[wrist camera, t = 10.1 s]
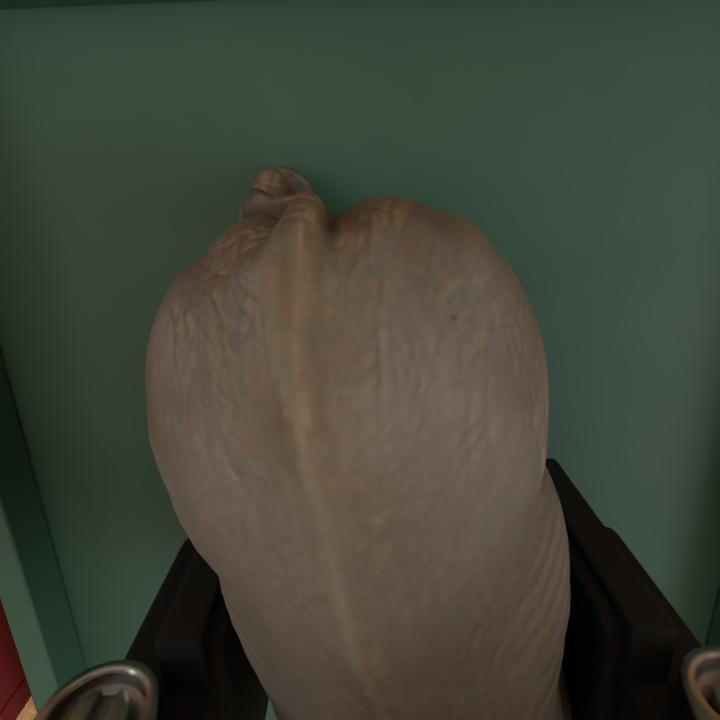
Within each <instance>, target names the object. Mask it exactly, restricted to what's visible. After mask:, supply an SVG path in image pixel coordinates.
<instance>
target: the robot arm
mask: <svg viewBox="0 0 720 720" xmlns="http://www.w3.org/2000/svg"><path fill="white" fill-rule="evenodd" d="M545 466H546V467H547V469H548V472H549V474H550V476H551V478H552V481H553V483H554V486H555V489H556V492H557V494H558V497H559V500H560V503H561V507H562V511H563V515H564V519H565V525H566V530H567V536H568V545H569V559H570V593H571V594H570V613H569V619H568V625H567V630H566V634H565V642H564V654H563V659H562V664H561V665H562V668H563V671H564V675H565V679H566V683H567V687H568V692H569V699H570V706H571V714H572V720H720V646H702V645H701V644H700V643H699V641H698V640H697V639H696V637H695V636H694V635H693V633H692V632H691V631H690V629H689V628H688V627H687V625H686V624H685V623H684V621H683V620H682V619H681V617H680V616H679V615H678V613H677V612H676V611H675V609H674V608H673V607H672V605H671V604H670V603H669V601H668V600H667V599H666V597H665V596H664V595H663V593H662V592H661V591H660V589H659V588H658V587H657V585H656V584H655V583H654V581H653V580H652V579H651V577H650V576H649V575H648V573H647V572H646V571H645V569H644V568H643V567H642V565H641V564H640V563H639V561H638V560H637V559H636V557H635V556H634V555H633V553H632V552H631V551H630V549H629V548H628V547H627V545H626V544H625V543H624V541H623V540H622V539H621V537H620V536H619V535H618V534H617V533H616V532H615V531H614V530H613V529H612V528H609V527H605V526H604V525H603V524H602V522H601V521H600V519H599V518H598V517H597V515H596V514H595V513H594V511H593V510H592V508H591V507H590V506H589V504H588V503H587V502H586V500H585V499H584V498H583V496H582V495H581V493H580V492H579V491H578V489H577V488H576V487H575V485H574V484H573V482H572V481H571V480H570V478H569V477H568V476H567V474H566V473H565V471H564V470H563V469H562V467H561V466H560V465H559V463H558V462H557V461H556V460H555V459H553V458H548V459H546V462H545ZM268 701H269V698H268V696H267V694H266V692H265V690H264V688H263V686H262V685H261V683H260V681H259V678H258V676H257V674H256V673H255V671H254V669H253V667H252V665H251V664H250V662H249V660H248V658H247V656H246V654H245V651H244V649H243V646H242V644H241V641H240V639H239V637H238V635H237V633H236V631H235V629H234V627H233V625H232V622H231V618H230V615H229V612H228V610H227V607H226V604H225V600H224V597H223V594H222V591H221V587H220V580H219V576H218V575H217V574H216V573H215V571H214V570H213V569H212V568H211V567H210V566H209V564H208V563H207V562H206V561H205V560H204V558H203V557H202V556H201V555H200V554H199V553H198V551H197V550H196V549H195V547H194V545H193V543H192V542H191V540H190V538H188V539H187V540H185V541H184V543H183V544H182V546H181V548H180V550H179V552H178V554H177V556H176V558H175V560H174V562H173V564H172V566H171V568H170V570H169V572H168V574H167V576H166V577H165V579H164V581H163V583H162V585H161V587H160V589H159V591H158V593H157V595H156V597H155V599H154V601H153V603H152V605H151V607H150V609H149V611H148V613H147V615H146V617H145V619H144V621H143V623H142V625H141V627H140V629H139V631H138V633H137V635H136V637H135V639H134V641H133V643H132V645H131V647H130V649H129V651H128V653H127V655H126V657H125V659H124V660H114V661H108V662H105V663H102V664H99V665H96V666H93V667H90V668H88V669H87V670H85V671H83V672H81V673H79V674H77V675H76V676H74V677H72V678H71V679H70V680H68V681H67V682H66V683H65V684H63V685H62V686H61V687H60V688H58V689H57V690H56V691H55V692H54V693H53V694H52V695H51V696H50V697H49V699H48V700H47V701H46V702H45V703H44V704H43V706H42V707H41V708H40V709H39V711H38V713H37V715H36V717H35V719H34V720H265V718H266V713H267V707H268Z"/></svg>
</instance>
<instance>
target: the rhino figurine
mask: <svg viewBox="0 0 720 720" xmlns="http://www.w3.org/2000/svg"><path fill="white" fill-rule="evenodd" d="M145 385H146V406H147V423H148V432H149V441H150V444H151V447H152V451H153V454H154V457H155V460H156V464H157V467H158V469H159V472H160V474H161V477H162V479H163V481H164V484H165V486H166V488H167V491H168V493H169V495H170V498H171V501H172V505H173V507H174V510H175V513H176V515H177V518H178V520H179V521H180V523H181V525H182V527H183V528H184V530H185V532H186V533H187V535H188V537H189V538H190V540H191V542H192V543H193V545H194V547H195V549H196V550H197V551H198V553H199V554H200V555H201V556H202V557H203V558H204V560H205V561H206V562H207V563H208V564H209V566H210V567H211V568H212V569H213V570H214V571H215V573H216V574H217V575H218V576H219V580H220V587H221V591H222V594H223V597H224V600H225V604H226V607H227V610H228V612H229V615H230V618H231V622H232V625H233V627H234V629H235V631H236V633H237V635H238V637H239V639H240V641H241V644H242V646H243V649H244V651H245V654H246V656H247V658H248V660H249V662H250V664H251V665H252V667H253V669H254V671H255V673H256V674H257V676H258V678H259V681H260V683H261V685H262V686H263V688H264V690H265V692H266V694H267V696H268V698H269V700H270V702H271V704H272V707H273V709H274V712H275V715H276V717H277V720H572V714H571V706H570V699H569V692H568V687H567V683H566V679H565V675H564V671H563V668H562V665H561V664H562V659H563V654H564V642H565V634H566V630H567V625H568V619H569V613H570V594H571V593H570V559H569V545H568V536H567V530H566V525H565V519H564V515H563V511H562V507H561V503H560V500H559V497H558V494H557V492H556V489H555V486H554V483H553V481H552V478H551V476H550V474H549V472H548V469H547V467H546V466H545V462H546V453H547V436H548V421H549V388H548V373H547V362H546V356H545V351H544V347H543V342H542V337H541V332H540V327H539V325H538V322H537V320H536V317H535V315H534V312H533V310H532V307H531V305H530V302H529V300H528V297H527V295H526V293H525V291H524V289H523V287H522V285H521V283H520V281H519V279H518V278H517V276H516V274H515V273H514V271H513V269H512V268H511V266H510V265H509V264H508V263H507V261H506V260H505V259H504V258H503V256H502V255H501V254H500V253H499V252H498V250H497V249H496V248H495V247H494V245H493V244H492V243H491V242H490V241H489V239H488V238H487V237H486V236H485V234H484V233H483V232H482V231H481V230H480V229H479V228H478V227H477V226H476V225H475V224H473V223H471V222H470V221H468V220H466V219H464V218H463V217H461V216H458V215H455V214H451V213H447V212H444V211H440V210H436V209H433V208H431V207H429V206H427V205H424V204H422V203H420V202H417V201H415V200H413V199H409V198H403V197H397V196H392V195H384V196H378V197H372V198H369V199H366V200H363V201H361V202H359V203H358V204H356V205H354V206H352V207H351V208H349V209H347V210H346V211H345V212H343V213H342V214H340V215H332V214H331V213H330V212H329V211H328V209H327V208H326V206H325V204H324V203H323V201H322V200H321V198H320V197H319V196H318V195H316V194H315V192H314V189H313V187H312V184H311V182H310V181H309V180H308V179H307V178H306V177H305V176H303V175H302V174H301V173H299V172H297V171H296V170H294V169H292V168H291V167H279V168H272V167H268V168H265V169H262V170H261V171H260V172H259V173H258V175H257V177H256V179H255V181H254V184H253V187H252V189H250V190H249V191H248V193H247V194H246V196H245V197H244V200H243V203H242V205H241V208H240V210H239V215H238V220H237V223H235V224H233V225H231V226H230V227H229V228H227V229H226V230H225V231H224V232H223V233H222V234H221V235H220V236H219V237H218V238H217V239H216V240H215V241H214V242H213V243H212V244H211V246H210V247H209V248H208V249H207V250H206V251H205V252H204V253H203V254H202V255H201V256H199V257H198V258H197V259H196V260H194V261H193V262H192V263H190V264H189V265H188V266H186V267H185V268H184V269H183V270H182V271H181V272H180V273H179V275H178V276H177V277H176V278H175V279H174V280H173V282H172V283H171V285H170V286H169V288H168V290H167V292H166V294H165V296H164V298H163V300H162V302H161V304H160V306H159V309H158V312H157V314H156V317H155V320H154V322H153V325H152V328H151V332H150V336H149V340H148V345H147V350H146V365H145Z"/></svg>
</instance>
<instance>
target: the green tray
mask: <svg viewBox="0 0 720 720" xmlns="http://www.w3.org/2000/svg"><path fill="white" fill-rule="evenodd" d="M268 167H272V168H279V167H291V168H292V169H294V170H296V171H297V172H299V173H301V174H302V175H303V176H305V177H306V178H307V179H308V180H309V181H310V182H311V184H312V187H313V189H314V192H315V194H316V195H318V196H319V197H320V198H321V200H322V201H323V203H324V204H325V206H326V208H327V209H328V211H329V212H330V213H331V214H332V215H340V214H342V213H343V212H345V211H346V210H347V209H349V208H351V207H352V206H354V205H356V204H358V203H359V202H361V201H363V200H366V199H369V198H372V197H378V196H384V195H392V196H397V197H403V198H409V199H413V200H415V201H417V202H420V203H422V204H424V205H427V206H429V207H431V208H433V209H436V210H440V211H444V212H447V213H451V214H455V215H458V216H461V217H463V218H464V219H466V220H468V221H470V222H471V223H473V224H475V225H476V226H477V227H478V228H479V229H480V230H481V231H482V232H483V233H484V234H485V236H486V237H487V238H488V239H489V241H490V242H491V243H492V244H493V245H494V247H495V248H496V249H497V250H498V252H499V253H500V254H501V255H502V256H503V258H504V259H505V260H506V261H507V263H508V264H509V265H510V266H511V268H512V269H513V271H514V273H515V274H516V276H517V278H518V279H519V281H520V283H521V285H522V287H523V289H524V291H525V293H526V295H527V297H528V300H529V302H530V305H531V307H532V310H533V312H534V315H535V317H536V320H537V322H538V325H539V327H540V332H541V337H542V342H543V347H544V351H545V356H546V362H547V373H548V388H549V421H548V436H547V453H546V459H548V458H553V459H555V460H556V461H557V462H558V463H559V465H560V466H561V467H562V469H563V470H564V471H565V473H566V474H567V476H568V477H569V478H570V480H571V481H572V482H573V484H574V485H575V487H576V488H577V489H578V491H579V492H580V493H581V495H582V496H583V498H584V499H585V500H586V502H587V503H588V504H589V506H590V507H591V508H592V510H593V511H594V513H595V514H596V515H597V517H598V518H599V519H600V521H601V522H602V524H603V525H604V526H605V527H609V528H612V529H613V530H614V531H615V532H616V533H617V534H618V535H619V536H620V537H621V539H622V540H623V541H624V543H625V544H626V545H627V547H628V548H629V549H630V551H631V552H632V553H633V555H634V556H635V557H636V559H637V560H638V561H639V563H640V564H641V565H642V567H643V568H644V569H645V571H646V572H647V573H648V575H649V576H650V577H651V579H652V580H653V581H654V583H655V584H656V585H657V587H658V588H659V589H660V591H661V592H662V593H663V595H664V596H665V597H666V599H667V600H668V601H669V603H670V604H671V605H672V607H673V608H674V609H675V611H676V612H677V613H678V615H679V616H680V617H681V619H682V620H683V621H684V623H685V624H686V625H687V627H688V628H689V629H690V631H691V632H692V633H693V635H694V636H695V637H696V639H697V640H698V641H699V643H700V644H701V645H702V646H720V0H0V599H1V602H2V605H3V608H4V611H5V614H6V617H7V620H8V623H9V627H10V630H11V633H12V636H13V639H14V642H15V645H16V648H17V651H18V654H19V657H20V660H21V664H22V667H23V670H24V673H25V676H26V679H27V682H28V685H29V688H30V691H31V694H32V698H33V701H34V704H35V707H36V710H37V713H38V711H39V709H40V708H41V707H42V706H43V704H44V703H45V702H46V701H47V700H48V699H49V697H50V696H51V695H52V694H53V693H54V692H55V691H56V690H57V689H58V688H60V687H61V686H62V685H63V684H65V683H66V682H67V681H68V680H70V679H71V678H72V677H74V676H76V675H77V674H79V673H81V672H83V671H85V670H87V669H88V668H90V667H93V666H96V665H99V664H102V663H105V662H108V661H114V660H124V659H125V657H126V655H127V653H128V651H129V649H130V647H131V645H132V643H133V641H134V639H135V637H136V635H137V633H138V631H139V629H140V627H141V625H142V623H143V621H144V619H145V617H146V615H147V613H148V611H149V609H150V607H151V605H152V603H153V601H154V599H155V597H156V595H157V593H158V591H159V589H160V587H161V585H162V583H163V581H164V579H165V577H166V576H167V574H168V572H169V570H170V568H171V566H172V564H173V562H174V560H175V558H176V556H177V554H178V552H179V550H180V548H181V546H182V544H183V543H184V541H185V540H187V539H188V538H189V537H188V535H187V533H186V532H185V530H184V528H183V527H182V525H181V523H180V521H179V520H178V518H177V515H176V513H175V510H174V507H173V505H172V501H171V498H170V495H169V493H168V491H167V488H166V486H165V484H164V481H163V479H162V477H161V474H160V472H159V469H158V467H157V464H156V460H155V457H154V454H153V451H152V447H151V444H150V441H149V432H148V423H147V406H146V385H145V365H146V350H147V345H148V340H149V336H150V332H151V328H152V325H153V322H154V320H155V317H156V314H157V312H158V309H159V306H160V304H161V302H162V300H163V298H164V296H165V294H166V292H167V290H168V288H169V286H170V285H171V283H172V282H173V280H174V279H175V278H176V277H177V276H178V275H179V273H180V272H181V271H182V270H183V269H184V268H185V267H186V266H188V265H189V264H190V263H192V262H193V261H194V260H196V259H197V258H198V257H199V256H201V255H202V254H203V253H204V252H205V251H206V250H207V249H208V248H209V247H210V246H211V244H212V243H213V242H214V241H215V240H216V239H217V238H218V237H219V236H220V235H221V234H222V233H223V232H224V231H225V230H226V229H227V228H229V227H230V226H231V225H233V224H235V223H237V220H238V215H239V210H240V208H241V205H242V203H243V200H244V197H245V196H246V194H247V193H248V191H249V190H250V189H252V187H253V184H254V181H255V179H256V177H257V175H258V173H259V172H260V171H261V170H262V169H265V168H268ZM265 720H277V717H276V715H275V712H274V709H273V707H272V704H271V702H270V700H269V701H268V707H267V713H266V718H265Z"/></svg>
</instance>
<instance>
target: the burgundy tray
mask: <svg viewBox="0 0 720 720" xmlns="http://www.w3.org/2000/svg"><path fill="white" fill-rule="evenodd" d="M31 695H32V694H31V691H30V688H29V685H28V682H27V679H26V676H25V673H24V670H23V667H22V664H21V660H20V657H19V654H18V651H17V648H16V645H15V642H14V639H13V636H12V633H11V630H10V627H9V623H8V620H7V617H6V614H5V611H4V608H3V605H2V602H1V599H0V720H16V718H17V717H18V715H19V714H20V712H21V711H22V709H23V708H24V706H25V705H26V703H27V702H28V700H29V698H30V697H31Z"/></svg>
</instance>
